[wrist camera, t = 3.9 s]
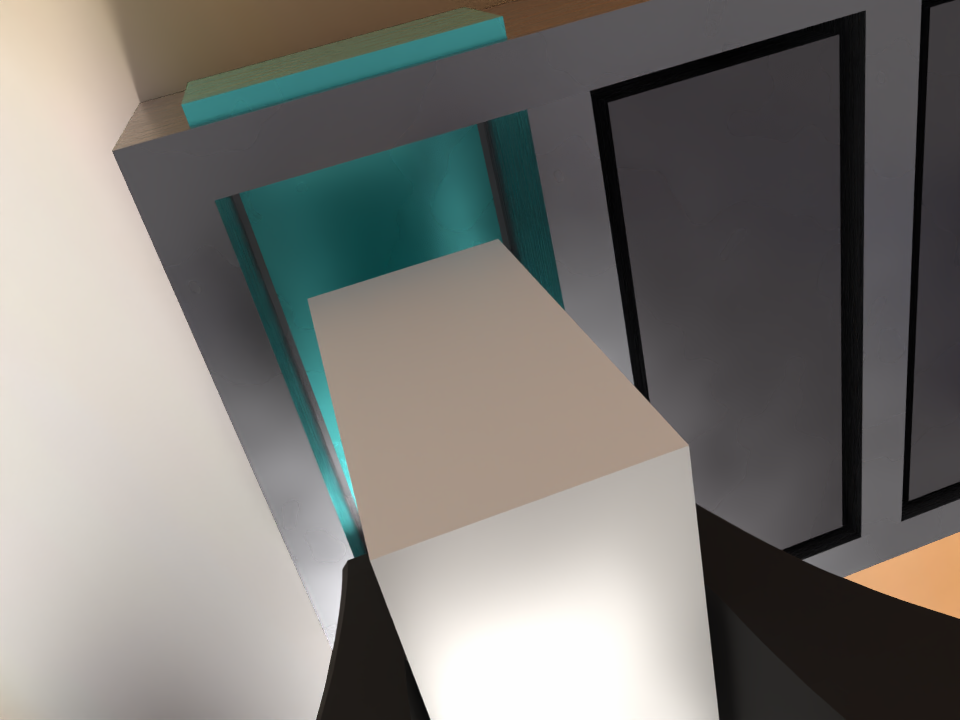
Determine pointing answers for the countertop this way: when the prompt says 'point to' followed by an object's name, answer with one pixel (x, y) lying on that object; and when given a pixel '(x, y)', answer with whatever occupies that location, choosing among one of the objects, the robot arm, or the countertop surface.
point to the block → (516, 499)
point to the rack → (603, 239)
